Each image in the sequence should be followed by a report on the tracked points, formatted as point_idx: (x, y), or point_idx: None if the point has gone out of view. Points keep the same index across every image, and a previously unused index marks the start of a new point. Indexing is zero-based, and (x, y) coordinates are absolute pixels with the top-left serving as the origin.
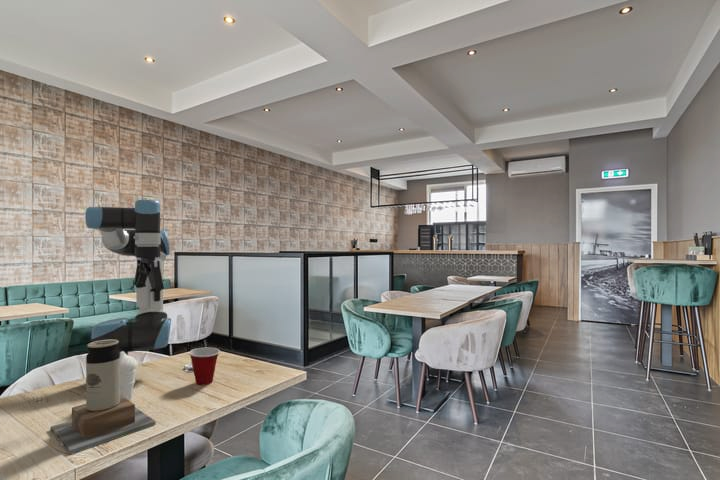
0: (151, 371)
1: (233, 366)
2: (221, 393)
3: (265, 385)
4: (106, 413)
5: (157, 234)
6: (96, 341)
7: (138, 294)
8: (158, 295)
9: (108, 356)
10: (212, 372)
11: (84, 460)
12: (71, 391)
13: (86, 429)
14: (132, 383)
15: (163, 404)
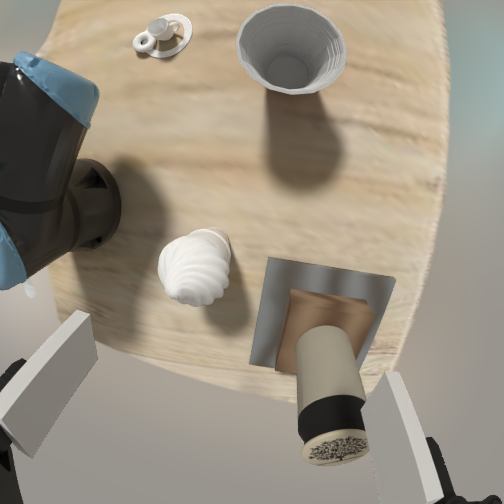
0: None
1: None
2: (392, 110)
3: (431, 42)
4: (358, 354)
5: None
6: (306, 454)
7: (51, 414)
8: (439, 476)
9: None
10: (316, 60)
11: (385, 367)
12: (88, 269)
13: None
14: (228, 245)
15: (328, 214)
